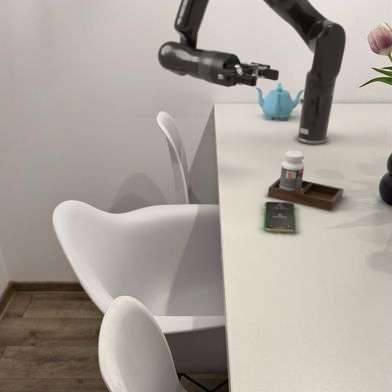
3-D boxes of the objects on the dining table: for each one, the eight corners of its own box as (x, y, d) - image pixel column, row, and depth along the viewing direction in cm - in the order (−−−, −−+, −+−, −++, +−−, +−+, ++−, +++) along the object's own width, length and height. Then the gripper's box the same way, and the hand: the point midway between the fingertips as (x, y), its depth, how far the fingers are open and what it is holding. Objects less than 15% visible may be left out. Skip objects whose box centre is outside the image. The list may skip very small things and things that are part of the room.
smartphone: (263, 228, 113) (264, 200, 124) (263, 232, 113) (264, 204, 125) (296, 230, 112) (294, 202, 123) (295, 233, 113) (294, 205, 124)
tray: (280, 184, 134) (281, 175, 133) (341, 198, 128) (343, 188, 126) (267, 196, 128) (268, 187, 127) (331, 211, 122) (332, 201, 120)
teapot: (252, 116, 182) (254, 86, 176) (278, 110, 188) (280, 81, 181) (276, 124, 174) (279, 93, 168) (302, 118, 180) (305, 87, 174)
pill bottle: (299, 196, 127) (305, 158, 120) (278, 194, 127) (282, 156, 121) (300, 188, 131) (306, 150, 124) (279, 186, 132) (284, 149, 125)
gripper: (199, 55, 121) (249, 65, 112) (237, 47, 128) (286, 56, 120) (199, 88, 126) (247, 100, 117) (235, 79, 133) (283, 90, 125)
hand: (267, 78), depth 118 cm, fingers open, 8 cm apart
